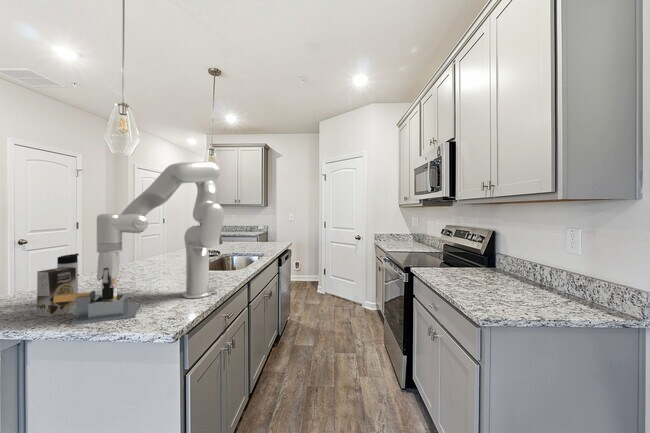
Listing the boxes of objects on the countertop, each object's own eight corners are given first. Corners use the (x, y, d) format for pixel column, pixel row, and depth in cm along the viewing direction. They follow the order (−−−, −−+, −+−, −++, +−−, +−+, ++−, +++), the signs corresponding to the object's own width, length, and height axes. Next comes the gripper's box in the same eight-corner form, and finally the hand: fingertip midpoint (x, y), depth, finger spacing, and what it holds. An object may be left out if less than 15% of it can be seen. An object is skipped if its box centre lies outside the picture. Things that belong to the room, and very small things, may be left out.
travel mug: (80, 303, 119) (80, 254, 118) (58, 307, 114) (58, 256, 113) (77, 299, 123) (77, 252, 122) (56, 303, 118) (56, 254, 118)
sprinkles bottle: (107, 308, 104) (107, 271, 104) (98, 307, 105) (98, 270, 105) (120, 304, 108) (120, 268, 108) (111, 303, 110) (110, 267, 109)
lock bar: (95, 297, 106) (95, 290, 106) (93, 299, 104) (93, 292, 104) (56, 301, 101) (56, 293, 101) (53, 303, 99) (53, 295, 99)
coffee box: (51, 317, 103) (50, 272, 103) (36, 315, 104) (35, 271, 104) (76, 308, 112) (76, 267, 112) (62, 307, 113) (62, 266, 113)
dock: (141, 305, 117) (141, 286, 117) (135, 317, 104) (135, 295, 104) (84, 311, 109) (84, 290, 109) (71, 325, 97) (71, 301, 97)
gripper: (103, 245, 113) (103, 292, 113) (89, 251, 97) (89, 305, 98) (126, 244, 116) (126, 290, 116) (116, 250, 100) (116, 302, 101)
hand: (109, 296), depth 107 cm, fingers closed on sprinkles bottle, 4 cm apart
